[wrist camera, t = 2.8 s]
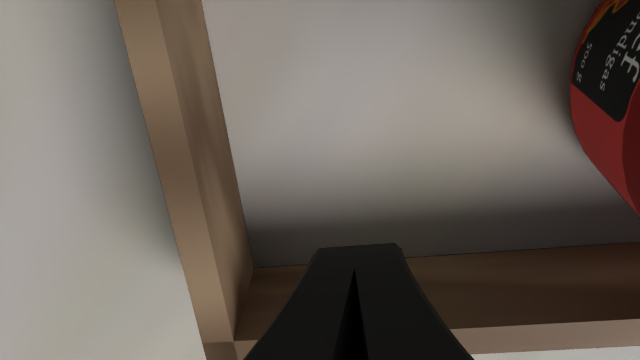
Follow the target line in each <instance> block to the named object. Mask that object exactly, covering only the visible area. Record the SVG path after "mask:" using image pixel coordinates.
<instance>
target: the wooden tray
mask: <svg viewBox="0 0 640 360" xmlns="http://www.w3.org/2000/svg"><path fill="white" fill-rule="evenodd" d="M114 3H115V7H116V10H117V14H118V18H119V22H120V26H121V30H122V34H123V38H124V41H125V45H126V49H127V53H128V57H129V61H130V65H131V69H132V73H133V76H134V80H135V84H136V88H137V92H138V96H139V100H140V104H141V107H142V111H143V115H144V119H145V123H146V127H147V131H148V135H149V138H150V142H151V146H152V150H153V154H154V158H155V162H156V166H157V169H158V173H159V177H160V181H161V185H162V189H163V193H164V197H165V200H166V204H167V208H168V212H169V216H170V220H171V224H172V228H173V231H174V235H175V239H176V243H177V247H178V251H179V255H180V259H181V262H182V266H183V270H184V274H185V278H186V282H187V286H188V290H189V293H190V297H191V301H192V305H193V309H194V313H195V317H196V321H197V325H198V328H199V332H200V336H201V340H202V344H203V348H204V352H205V356H206V359H207V360H243V359H244V358H245V356H246V355H247V354H248V352H249V351H250V350H251V349H252V347H253V346H254V345H255V344H256V342H257V341H258V340H259V338H260V337H261V336H262V335H263V333H264V332H265V331H266V329H267V328H268V326H269V325H270V324H271V322H272V321H273V319H274V318H275V316H276V315H277V313H278V312H279V310H280V309H281V307H282V306H283V304H284V303H285V302H286V300H287V299H288V297H289V296H290V294H291V292H292V291H293V289H294V288H295V286H296V284H297V283H298V281H299V279H300V278H301V276H302V274H303V273H304V271H305V269H306V267H307V266H308V265H297V266H282V267H268V268H254V266H253V261H252V256H251V250H250V245H249V240H248V235H247V230H246V225H245V220H244V215H243V210H242V205H241V200H240V195H239V190H238V185H237V180H236V175H235V170H234V164H233V159H232V154H231V149H230V144H229V139H228V134H227V129H226V124H225V119H224V114H223V109H222V104H221V99H220V94H219V89H218V84H217V78H216V73H215V68H214V63H213V58H212V53H211V48H210V43H209V38H208V33H207V28H206V23H205V18H204V13H203V8H202V3H201V0H114ZM405 260H406V262H407V264H408V266H409V268H410V270H411V272H412V274H413V276H414V277H415V279H416V281H417V282H418V284H419V286H420V287H421V289H422V291H423V292H424V294H425V295H426V297H427V298H428V300H429V301H430V303H431V304H432V306H433V307H434V308H435V310H436V311H437V313H438V314H439V315H440V317H441V318H442V320H443V321H444V323H445V324H446V325H447V327H448V328H449V329H450V330H451V332H452V333H453V334H454V336H455V337H456V338H457V340H458V341H459V342H460V343H461V344H462V346H463V347H464V348H465V349H466V350H467V352H468V353H469V354H487V353H506V352H526V351H546V350H565V349H585V348H605V347H625V346H640V242H635V243H621V244H606V245H591V246H576V247H562V248H547V249H532V250H518V251H503V252H488V253H474V254H459V255H444V256H429V257H415V258H405Z"/></svg>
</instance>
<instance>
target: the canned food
mask: <svg viewBox="0 0 640 360" xmlns="http://www.w3.org/2000/svg"><path fill="white" fill-rule="evenodd" d="M570 108H571V113H572V118H573V123H574V128H575V132H576V134H577V137H578V139H579V141H580V143H581V145H582V148H583V150H584V152H585V153H586V155H587V156H588V157H589V159H590V160H591V161H592V162H593V164H594V165H595V166H596V168H597V169H598V170H599V171H600V172H601V174H602V175H603V176H604V177H605V178H606V179H607V181H608V182H609V183H610V184H611V185H612V186H613V188H614V189H615V190H616V191H617V192H618V193H619V195H620V196H621V197H622V198H623V199H624V200H625V202H626V203H627V204H628V205H629V206H630V207H631V209H632V210H633V211H634V212H635V213H636V214H637V216H638V217H639V218H640V0H603V1H602V3H601V4H600V5H599V6H598V8H597V9H596V11H595V13H594V14H593V16H592V17H591V19H590V21H589V22H588V24H587V25H586V27H585V29H584V31H583V34H582V36H581V39H580V41H579V44H578V46H577V48H576V51H575V55H574V59H573V64H572V69H571V74H570Z"/></svg>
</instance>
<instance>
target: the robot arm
mask: <svg viewBox="0 0 640 360" xmlns="http://www.w3.org/2000/svg"><path fill="white" fill-rule="evenodd" d="M243 360H474V359H473V358H472V356H471V355H470V354H469V353H468V352H467V350H466V349H465V348H464V347H463V346H462V344H461V343H460V342H459V341H458V340H457V338H456V337H455V336H454V334H453V333H452V332H451V330H450V329H449V328H448V327H447V325H446V324H445V323H444V321H443V320H442V318H441V317H440V315H439V314H438V313H437V311H436V310H435V308H434V307H433V306H432V304H431V303H430V301H429V300H428V298H427V297H426V295H425V294H424V292H423V291H422V289H421V287H420V286H419V284H418V282H417V281H416V279H415V277H414V276H413V274H412V272H411V270H410V268H409V266H408V264H407V262H406V260H405V258H404V255H403V252H402V249H401V248H400V247H399V246H397V245H396V244H395V243H387V244H373V245H359V246H345V247H331V248H319V249H318V250H317V251H316V253H315V254H314V255H313V256H312V258H311V260H310V262H309V264H308V266H307V267H306V269H305V271H304V273H303V274H302V276H301V278H300V279H299V281H298V283H297V284H296V286H295V288H294V289H293V291H292V292H291V294H290V296H289V297H288V299H287V300H286V302H285V303H284V304H283V306H282V307H281V309H280V310H279V312H278V313H277V315H276V316H275V318H274V319H273V321H272V322H271V324H270V325H269V326H268V328H267V329H266V331H265V332H264V333H263V335H262V336H261V337H260V338H259V340H258V341H257V342H256V344H255V345H254V346H253V347H252V349H251V350H250V351H249V352H248V354H247V355H246V356H245V358H244V359H243Z"/></svg>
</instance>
